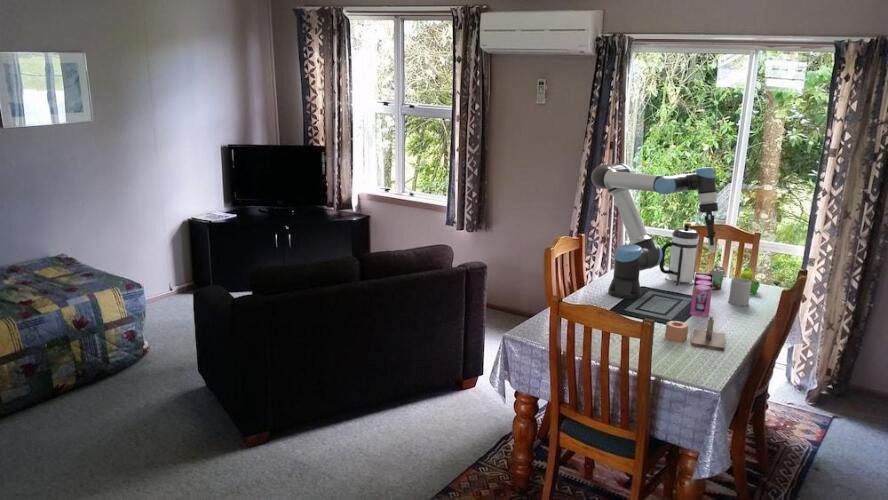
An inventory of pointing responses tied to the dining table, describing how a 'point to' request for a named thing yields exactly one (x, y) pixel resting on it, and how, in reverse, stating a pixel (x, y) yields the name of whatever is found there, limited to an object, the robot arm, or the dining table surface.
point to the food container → (717, 277)
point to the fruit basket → (748, 275)
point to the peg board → (708, 342)
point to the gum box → (701, 295)
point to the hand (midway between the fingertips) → (712, 251)
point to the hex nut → (676, 331)
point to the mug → (740, 291)
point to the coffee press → (681, 255)
